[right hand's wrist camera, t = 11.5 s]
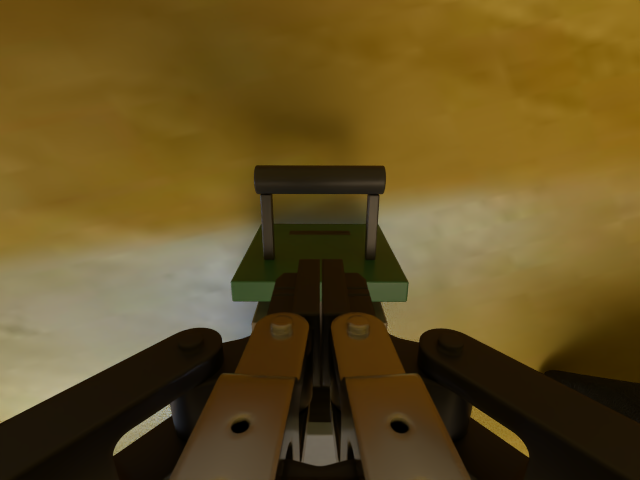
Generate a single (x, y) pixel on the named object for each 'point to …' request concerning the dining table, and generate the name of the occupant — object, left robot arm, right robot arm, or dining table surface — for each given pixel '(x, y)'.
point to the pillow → (604, 391)
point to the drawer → (319, 246)
